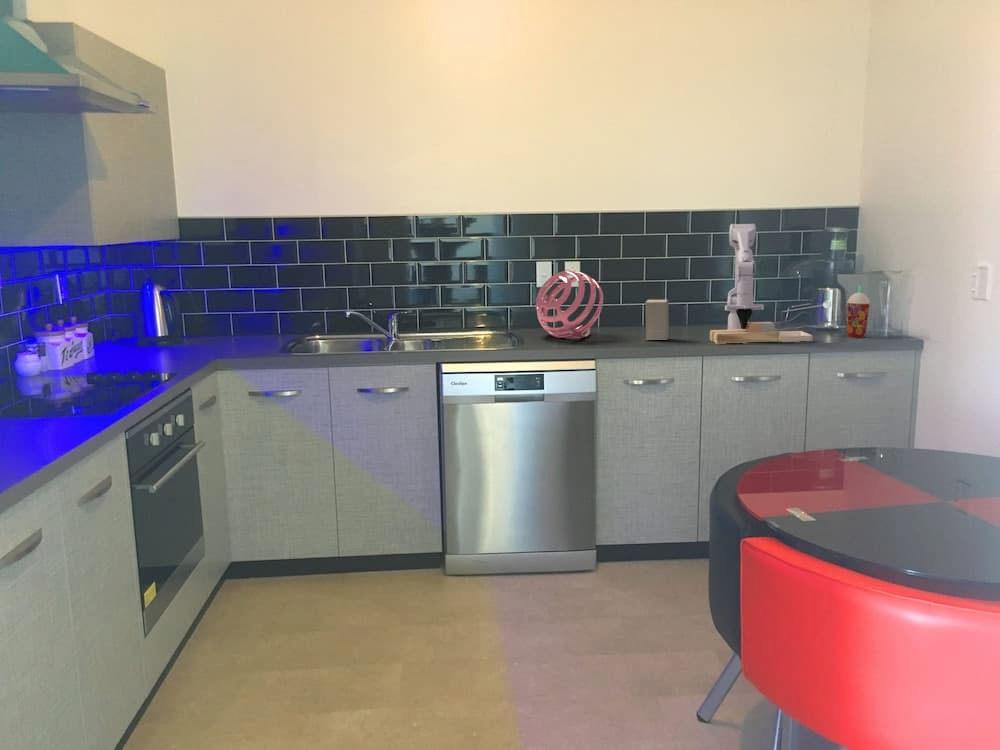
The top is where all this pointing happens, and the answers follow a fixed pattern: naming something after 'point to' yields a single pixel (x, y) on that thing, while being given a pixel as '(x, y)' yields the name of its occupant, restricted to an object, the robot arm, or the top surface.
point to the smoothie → (857, 314)
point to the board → (742, 336)
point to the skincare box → (657, 320)
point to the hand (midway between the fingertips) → (743, 328)
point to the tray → (794, 336)
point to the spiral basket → (563, 315)
